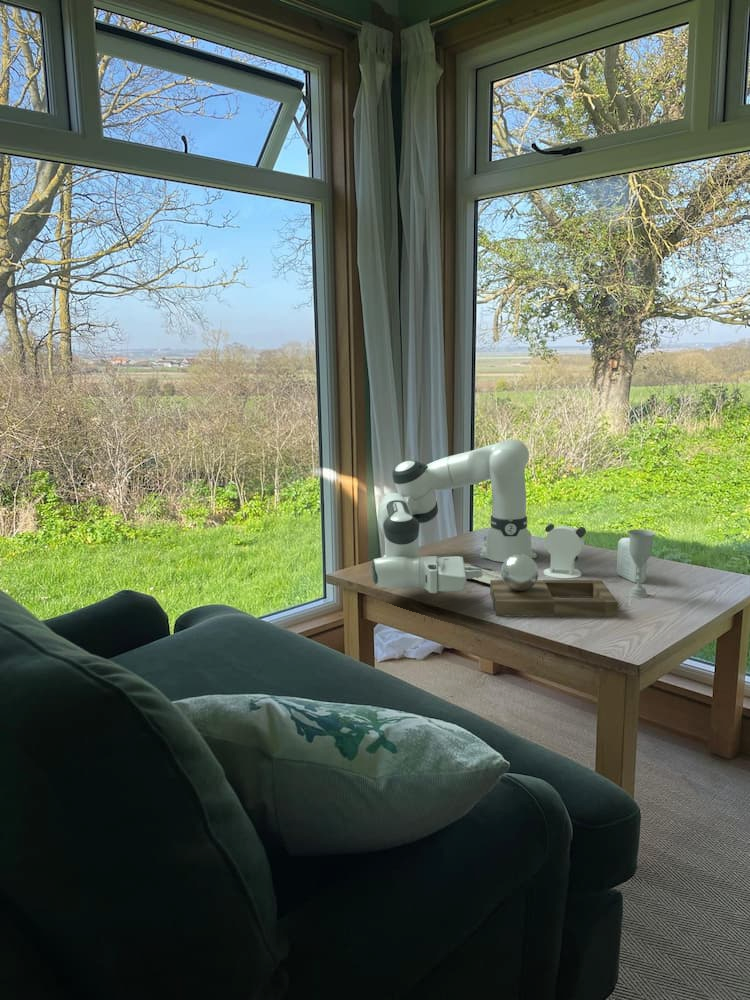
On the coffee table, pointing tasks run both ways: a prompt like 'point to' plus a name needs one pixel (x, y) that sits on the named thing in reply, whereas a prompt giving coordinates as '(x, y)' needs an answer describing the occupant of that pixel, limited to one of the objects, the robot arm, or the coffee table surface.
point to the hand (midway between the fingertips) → (481, 572)
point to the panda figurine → (564, 550)
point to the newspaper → (485, 574)
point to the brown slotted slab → (554, 599)
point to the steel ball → (519, 572)
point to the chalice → (640, 556)
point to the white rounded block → (628, 562)
